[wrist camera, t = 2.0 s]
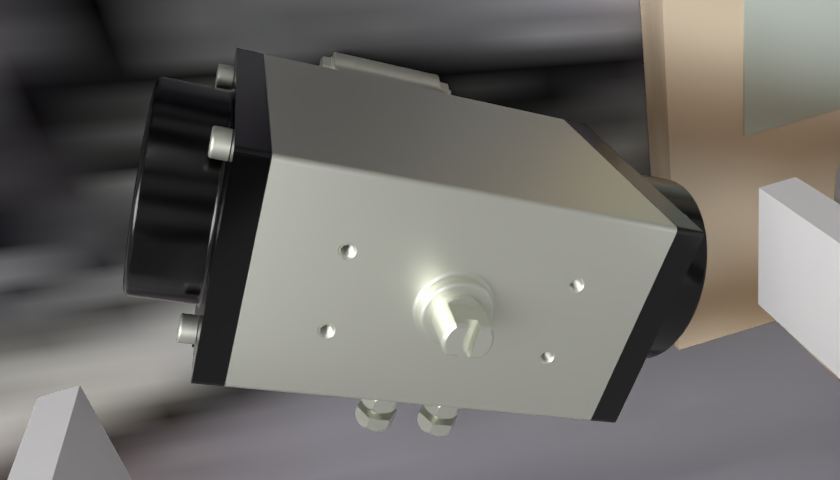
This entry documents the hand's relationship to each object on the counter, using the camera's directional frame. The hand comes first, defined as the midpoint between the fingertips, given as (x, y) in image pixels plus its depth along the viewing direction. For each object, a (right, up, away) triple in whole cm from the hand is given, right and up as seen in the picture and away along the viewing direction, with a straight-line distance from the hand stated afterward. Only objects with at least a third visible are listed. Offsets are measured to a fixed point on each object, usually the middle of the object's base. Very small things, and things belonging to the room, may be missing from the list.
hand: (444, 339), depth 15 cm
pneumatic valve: (-2, +6, +9) cm, 11 cm away
